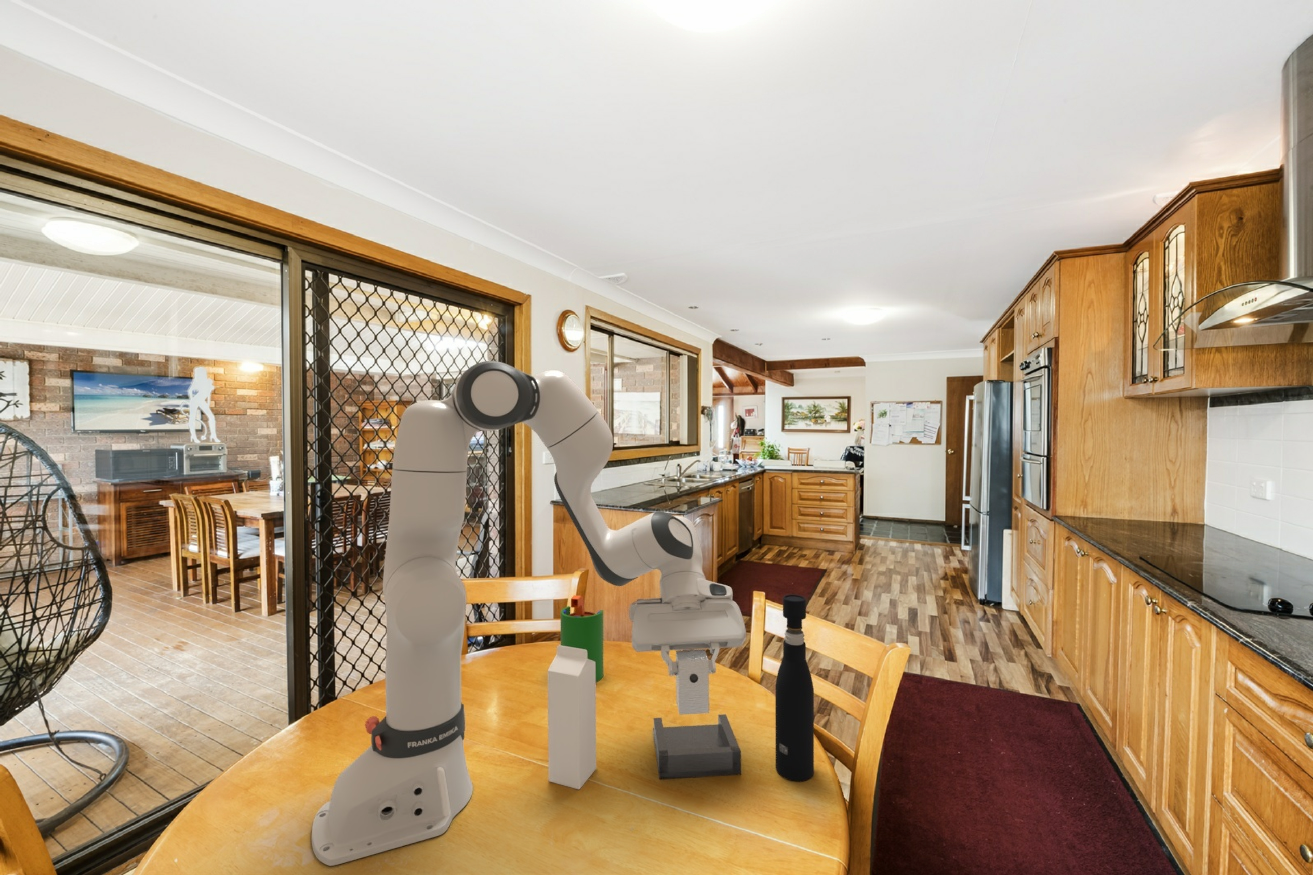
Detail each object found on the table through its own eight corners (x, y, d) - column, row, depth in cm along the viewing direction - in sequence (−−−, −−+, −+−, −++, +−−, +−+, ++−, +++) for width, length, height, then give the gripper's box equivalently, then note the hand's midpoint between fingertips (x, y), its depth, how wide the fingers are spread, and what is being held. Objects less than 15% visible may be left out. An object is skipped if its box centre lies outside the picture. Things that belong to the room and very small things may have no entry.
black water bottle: (813, 761, 96) (813, 593, 95) (813, 785, 89) (814, 605, 89) (776, 756, 97) (776, 590, 97) (774, 778, 91) (774, 602, 91)
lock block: (676, 702, 93) (675, 651, 93) (705, 700, 94) (704, 649, 94) (679, 715, 89) (678, 661, 89) (709, 713, 90) (708, 660, 89)
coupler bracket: (652, 732, 105) (652, 712, 105) (723, 729, 106) (723, 709, 106) (659, 779, 91) (659, 756, 91) (740, 774, 92) (740, 751, 92)
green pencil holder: (606, 669, 133) (605, 588, 132) (598, 686, 124) (598, 600, 124) (565, 667, 134) (565, 587, 133) (555, 684, 125) (554, 599, 125)
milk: (566, 761, 96) (565, 638, 96) (597, 769, 94) (596, 643, 94) (547, 782, 90) (546, 651, 90) (579, 790, 88) (578, 656, 88)
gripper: (628, 591, 97) (631, 669, 88) (740, 587, 99) (754, 663, 89) (628, 607, 102) (630, 683, 92) (735, 603, 103) (748, 677, 94)
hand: (692, 673), depth 91 cm, fingers closed on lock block, 5 cm apart
